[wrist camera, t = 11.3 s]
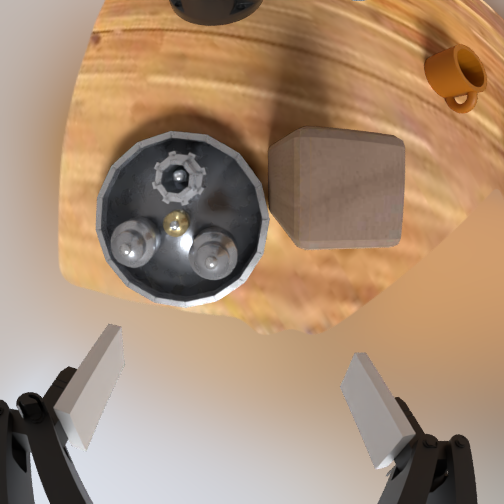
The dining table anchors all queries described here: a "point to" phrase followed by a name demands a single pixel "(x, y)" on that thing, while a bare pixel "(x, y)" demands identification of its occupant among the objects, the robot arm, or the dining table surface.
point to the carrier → (182, 222)
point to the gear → (166, 171)
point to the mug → (456, 76)
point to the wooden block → (338, 188)
